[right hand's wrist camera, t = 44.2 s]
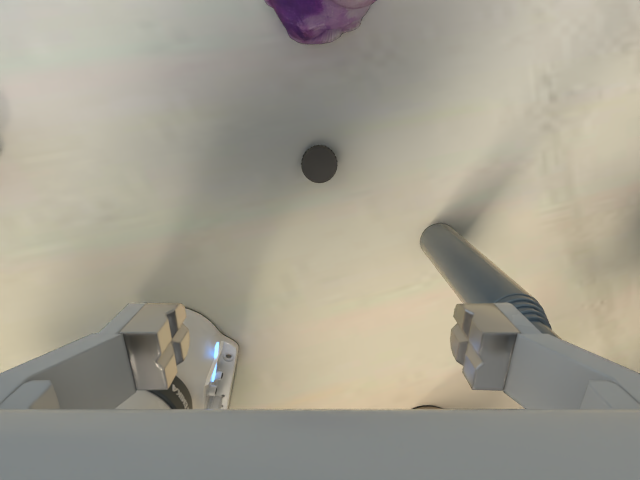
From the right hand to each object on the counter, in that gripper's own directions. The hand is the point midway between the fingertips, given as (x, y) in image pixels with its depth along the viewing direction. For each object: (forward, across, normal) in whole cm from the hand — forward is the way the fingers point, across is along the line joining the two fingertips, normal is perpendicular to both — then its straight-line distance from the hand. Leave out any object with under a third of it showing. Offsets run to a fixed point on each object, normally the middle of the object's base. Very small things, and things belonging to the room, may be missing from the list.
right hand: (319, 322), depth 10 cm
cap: (+33, 0, 0) cm, 33 cm away
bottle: (+35, +16, -10) cm, 40 cm away
